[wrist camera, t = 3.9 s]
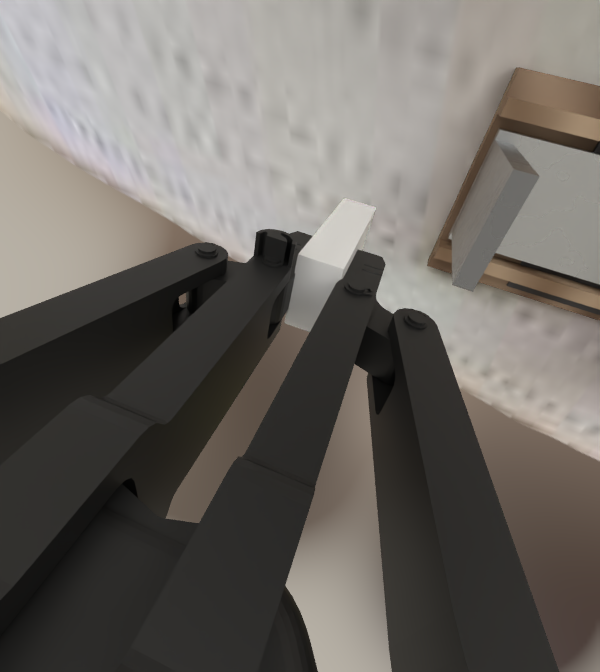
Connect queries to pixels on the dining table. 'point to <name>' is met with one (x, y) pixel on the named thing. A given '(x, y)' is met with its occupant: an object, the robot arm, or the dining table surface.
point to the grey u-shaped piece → (530, 210)
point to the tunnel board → (552, 125)
